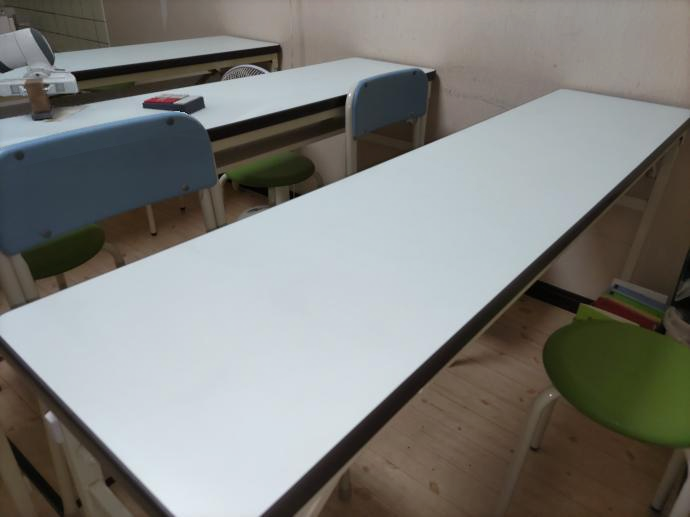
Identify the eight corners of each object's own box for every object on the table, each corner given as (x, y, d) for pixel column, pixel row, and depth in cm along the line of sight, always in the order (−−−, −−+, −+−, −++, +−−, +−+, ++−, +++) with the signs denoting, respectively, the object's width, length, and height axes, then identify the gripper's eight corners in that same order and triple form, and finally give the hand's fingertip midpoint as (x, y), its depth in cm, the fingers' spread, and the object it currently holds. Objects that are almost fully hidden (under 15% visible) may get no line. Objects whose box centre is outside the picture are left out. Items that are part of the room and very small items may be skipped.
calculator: (162, 92, 162) (203, 93, 158) (165, 106, 165) (205, 107, 160) (140, 100, 153) (183, 102, 149) (144, 114, 156) (186, 116, 151)
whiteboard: (42, 127, 140) (41, 122, 139) (46, 111, 152) (45, 107, 152) (120, 121, 147) (119, 117, 146) (118, 107, 159) (117, 103, 159)
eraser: (32, 119, 141) (21, 85, 136) (35, 110, 148) (25, 77, 143) (52, 117, 142) (42, 83, 137) (54, 108, 150) (44, 76, 145)
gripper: (-3, 72, 147) (-11, 82, 136) (75, 69, 154) (74, 79, 143) (3, 94, 150) (-4, 106, 139) (80, 90, 157) (79, 101, 146)
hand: (36, 92), depth 141 cm, fingers closed on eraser, 4 cm apart
